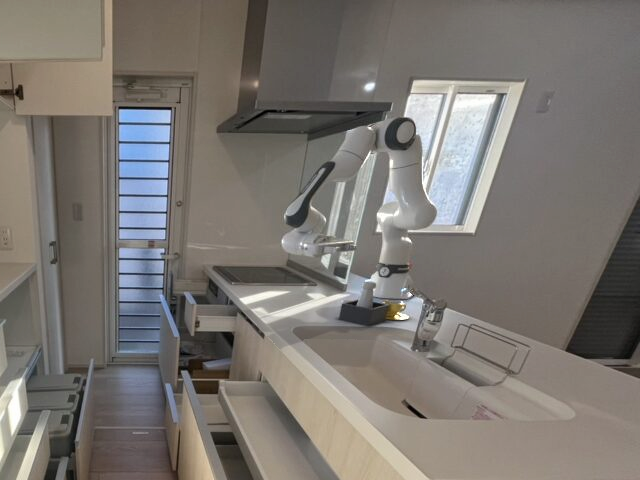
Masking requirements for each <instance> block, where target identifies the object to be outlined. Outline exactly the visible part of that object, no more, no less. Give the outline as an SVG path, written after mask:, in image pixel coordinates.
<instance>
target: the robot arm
mask: <svg viewBox="0 0 640 480" xmlns="http://www.w3.org/2000/svg"><path fill="white" fill-rule="evenodd" d="M385 153H387V154H388V157H389V163H388V168H389V169H388V187H389V190H390V192H391V193H392V195H394V196H395V199H396V200H393V201H390V202H386V203H384V204H382V205H381V206H380V207H379V209H378V211H377V212H376V222H377V224H378V225H379V227H380V229H381V237H382V238H381V239H382V245H381V251H380V255H379V259H378V261H377V264H376V265H375V272H374V273H372V275H371V277H370V279H366V280H365V281H373V282H375V283H376V288H375V289H373V298H374V297H375V298H380V299H381V298H382V299H389V300H392V299H393V300H396V299H397V300H398V299H399V300H409V299H411V298H412V297H413V295H412V294H411V293H410V290H411V291H412V289H413V288H412V287H413V283H414V281H413V279H412V277H411V275H410V274H409V272H410V269H412V267H413V263H410V262H409V261H410V258H411V254H412V252H413V247H414V246H413V242H412V241H411V239H410V238H409V231H418V230H423V229H427V228H429V227H430V226H431V225H432V224H434V222H435V220H436V218H437V216H438V209H437V206H436V205H435V204H434V203H433V202H432V201H431V200H430V199H429V196H428V194H427V191H426V189H425V185H424V173H423V171H424V170H423V169H424V168H423V167H424V162H423V161H424V150H423V142H422V137H421V135H420V134H419V133H418V132H417V125H416V123H415V120H414V119H412V118H411V117H410V116H409V117H408V116H398V117H393V118H386V119H384V120H381V121H379V122H375V123H372V124H370V125H368V126H367V125H360V126H358V127H355V128H354V129H353V130H352V131H351V132H350V133H349V134H348V136H347V137H346V138H345V140H344V141H343V143H342V144H341V145H340V146H339V149H338V150H337V151H336V153H335V155H334V156H333V157H332V159H331V160H329V161H326V162H324V163H323V164H322V165H320V166H319V168H318V169H317V170H316V172H315V173H314V174H313V175H312V177H311V178H310V179H309V180H308V182H307V183H306V184H305V186H304V187H303V188H302V189H301V191H300V192H299V194H298V195H297V196H296V197H295V198H294V199H293V200H292V201H291V202H290V203H289V205H288V206H287V207H286V208H285V211H284V216H283V217H284V220H283V221H284V222H285V225H287V226H289V227H291V228H292V230H291V231H290V232H287V233H285V234H284V235H283V236H282V239H281V247H282V249H283V251H284V252H285V253H287V254H290V255H295V256H305V257H307V258H314V259H319V258H321V257H323V256H326V255H330V254H335V253H336V254H337V253H347V252H354V251H357V250H358V245H357V244H355V241H353V240H351V239H346V238H338V237H337V236H336V235H327V234H323V232H324V231H325V228H326V226H327V218H326V216H325V215H324V214H323V213H321V212H320V211H319V210H317V209H315V207H313V206H312V202H313V200H314V199H315V198H316V197H317V195H318V194H319V193H320V192H321V190H322V189H323V187H325V185H326V184H327V183H329V182H334V183H346V182H349V181H351V180H353V179H354V178H356V176H357V175H358V174H359V172H360V171H361V169H362V168H363V166H364V165H365V163H366V161H367V160H368V158H369V156H370V155H374V154H375V155H376V154H385Z"/></svg>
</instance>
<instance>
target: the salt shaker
mask: <svg viewBox="0 0 640 480" xmlns="http://www.w3.org/2000/svg"><path fill="white" fill-rule="evenodd" d="M361 288H362V291H361V293H360V296H359V298H358V299H357V300H358V303H357V305H356V306H359V307H364V308H369V309H372V308H373V302H374V296H373V289H375V288H376V283H375V282H373V281H366V280H365V281H364V282H362V284H361Z"/></svg>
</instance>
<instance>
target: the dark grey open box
mask: <svg viewBox="0 0 640 480" xmlns="http://www.w3.org/2000/svg"><path fill="white" fill-rule="evenodd" d="M358 300H359V299H355V300H350V301H346V302H343V303H341V306H340V311H339V316H338V320H341V321H344V322H345V321H346V322H350V323H354V324H357V325H362V326H367V327H368V326H369V327H370V326H372V325H375V324H378V323H382V322H385V321H386V320H387V319H386V315H387V312H388V308H389V305H388V304H383V302H376V301H373V308H372V309H369V308H364V307H359V306H356V305H357V303H358Z"/></svg>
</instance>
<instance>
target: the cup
mask: <svg viewBox="0 0 640 480" xmlns="http://www.w3.org/2000/svg"><path fill="white" fill-rule="evenodd" d="M382 304H388V305H389V308H388V312H387V315H386V319H385V320H392V321H393V320H395V321H404V320H409V318H410V316H409V315H407V314H404V313H402V312H404V311H405V310H406V309H407V304H405V303H404V302H403V301H399V300H395V299H393V300H392V299H384V300H383V301H382Z"/></svg>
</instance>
